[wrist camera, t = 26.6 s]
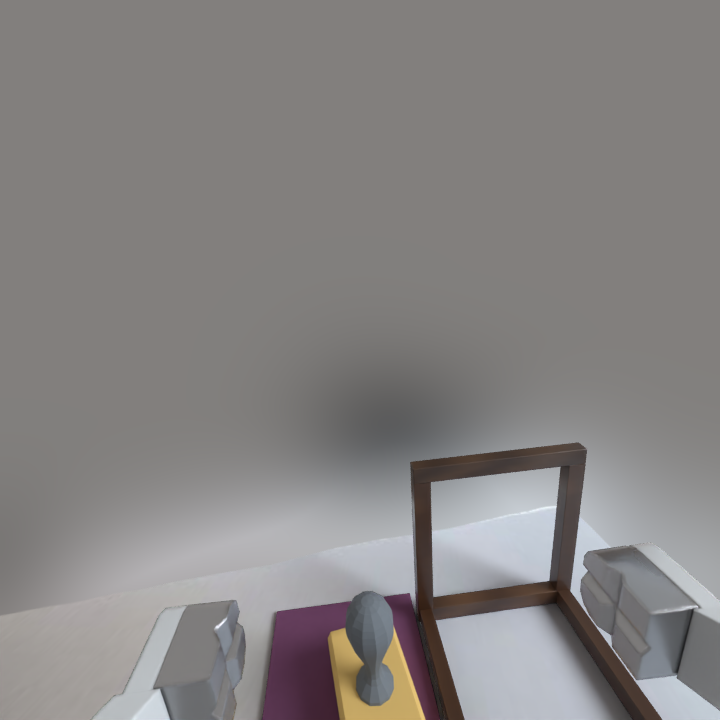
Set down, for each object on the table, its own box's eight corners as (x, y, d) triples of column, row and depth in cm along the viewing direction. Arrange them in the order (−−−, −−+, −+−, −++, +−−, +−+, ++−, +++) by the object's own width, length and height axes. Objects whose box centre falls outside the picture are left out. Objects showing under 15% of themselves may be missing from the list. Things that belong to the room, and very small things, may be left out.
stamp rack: (474, 846, 23) (480, 639, 17) (416, 611, 37) (410, 461, 32) (709, 803, 23) (780, 594, 18) (561, 590, 38) (578, 442, 33)
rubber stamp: (438, 787, 25) (436, 661, 21) (355, 821, 24) (338, 693, 20) (391, 642, 34) (384, 538, 31) (330, 661, 33) (316, 555, 29)
